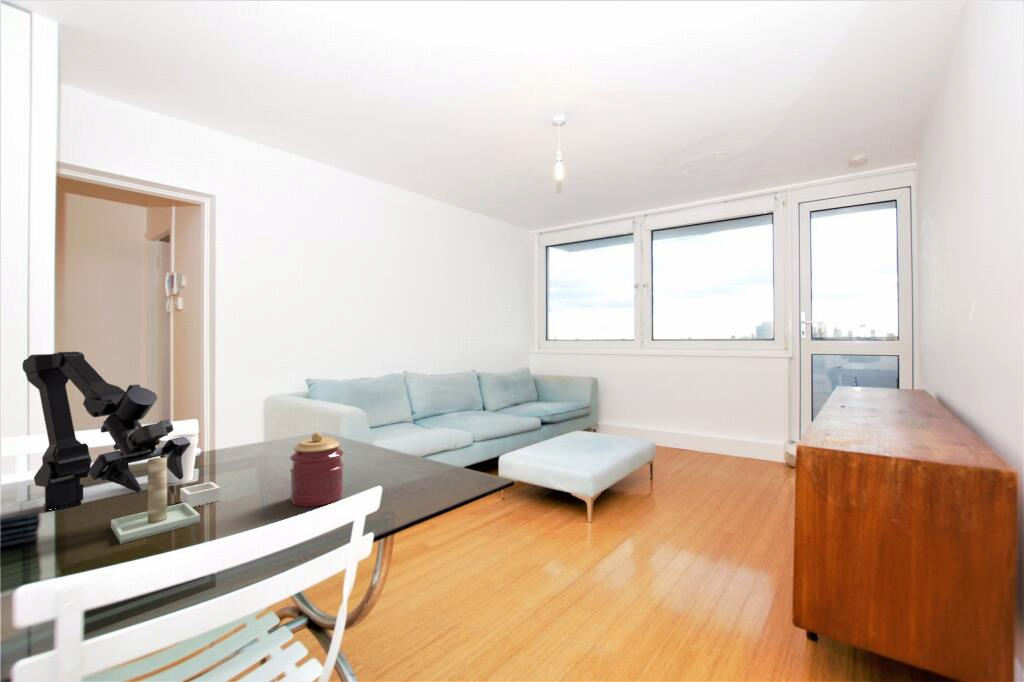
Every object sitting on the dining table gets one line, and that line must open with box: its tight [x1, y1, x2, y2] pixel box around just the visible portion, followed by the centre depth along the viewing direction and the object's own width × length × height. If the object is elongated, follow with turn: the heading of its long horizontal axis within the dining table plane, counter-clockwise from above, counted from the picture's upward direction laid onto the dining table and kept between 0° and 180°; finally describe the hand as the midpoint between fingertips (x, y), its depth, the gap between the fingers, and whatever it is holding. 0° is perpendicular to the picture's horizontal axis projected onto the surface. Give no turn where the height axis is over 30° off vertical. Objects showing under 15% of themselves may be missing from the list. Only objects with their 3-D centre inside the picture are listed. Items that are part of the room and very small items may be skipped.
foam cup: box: [158, 433, 199, 484], centre depth 134 cm, size 10×9×13 cm
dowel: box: [147, 457, 168, 523], centre depth 103 cm, size 4×4×14 cm
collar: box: [179, 481, 221, 508], centre depth 117 cm, size 7×7×4 cm
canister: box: [289, 431, 345, 508], centre depth 118 cm, size 13×13×18 cm
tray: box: [110, 502, 201, 545], centre depth 102 cm, size 14×12×2 cm
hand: (161, 484), depth 103 cm, fingers open, 9 cm apart
